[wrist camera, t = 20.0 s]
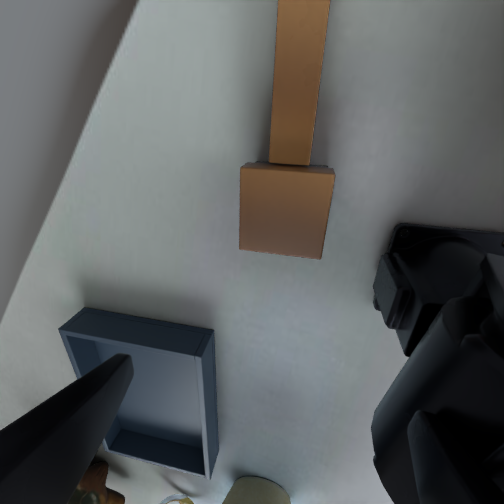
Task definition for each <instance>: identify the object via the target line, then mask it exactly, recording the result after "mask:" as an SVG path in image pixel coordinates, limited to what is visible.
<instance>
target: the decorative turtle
mask: <svg viewBox="0 0 504 504" xmlns="http://www.w3.org/2000/svg"><path fill="white" fill-rule="evenodd" d="M107 474H108V464H107V463H106V462H99V463H97V464H94V465H91V466H88V468H87V470H86V472H85V473H84V475H83V477H82V479H81V481H80V482H79V484H78V486H77V488H76V489H75V491H74V493H73V495H72V496H71V498H70V500H69V502H68V503H67V504H124V503H125V497H124V496H123V495H122V494H120V493H119V492H117V491H114V490H112V489H109V488H107V487H106V485H105V484H106V478H107Z"/></svg>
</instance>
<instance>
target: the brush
mask: <svg viewBox="0 0 504 504" xmlns="http://www.w3.org/2000/svg"><path fill="white" fill-rule="evenodd" d="M329 7H330V0H278V13H277V30H276V47H275V64H274V81H273V98H272V115H271V131H270V148H269V162H260V161H257V162H255V163H249V162H248V163H246V164H245V165H243V166H242V167H241V168H240V226H239V249H240V250H247V251H255V252H263V253H271V254H279V255H287V256H295V257H303V258H311V259H319V260H320V259H321V257H322V251H323V245H324V240H325V234H326V228H327V222H328V216H329V210H330V204H331V199H332V193H333V187H334V181H335V172H334V169H333V168H328V166H317V165H310V158H311V150H312V142H313V134H314V126H315V118H316V110H317V102H318V94H319V86H320V78H321V71H322V63H323V55H324V47H325V39H326V31H327V23H328V15H329Z"/></svg>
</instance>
